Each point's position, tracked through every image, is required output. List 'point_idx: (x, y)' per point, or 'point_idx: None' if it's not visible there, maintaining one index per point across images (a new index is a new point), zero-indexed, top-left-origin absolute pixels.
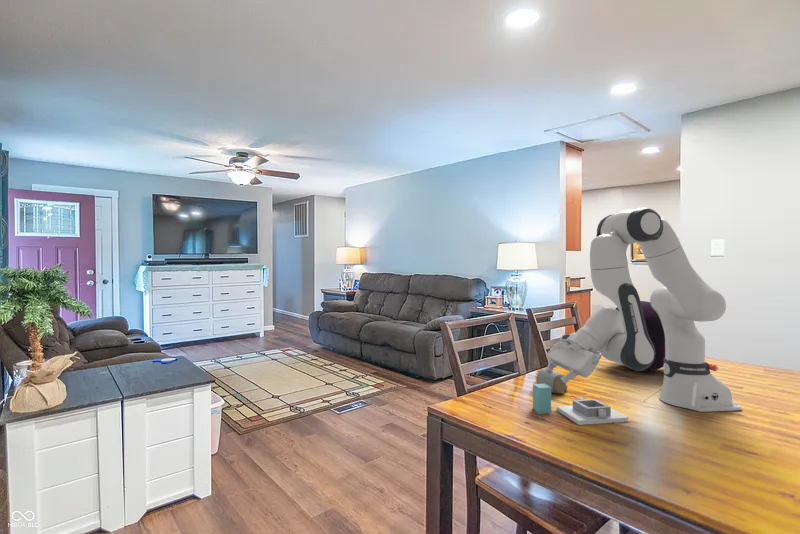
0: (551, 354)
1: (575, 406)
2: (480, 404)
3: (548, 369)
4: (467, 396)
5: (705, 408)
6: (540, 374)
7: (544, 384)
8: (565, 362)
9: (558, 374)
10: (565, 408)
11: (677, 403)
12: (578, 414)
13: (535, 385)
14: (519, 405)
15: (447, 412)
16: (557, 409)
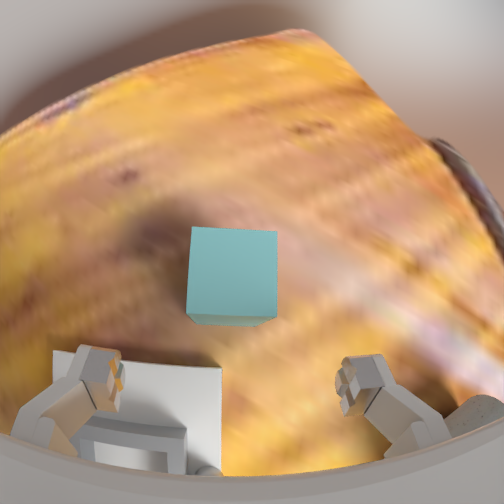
0: (500, 456)
1: (161, 430)
2: (327, 117)
3: (357, 376)
4: (398, 121)
5: None
6: (494, 412)
7: (257, 303)
8: (153, 494)
9: None
10: (187, 393)
11: None
12: None
13: (246, 231)
14: (305, 236)
15: (270, 36)
16: (212, 367)
